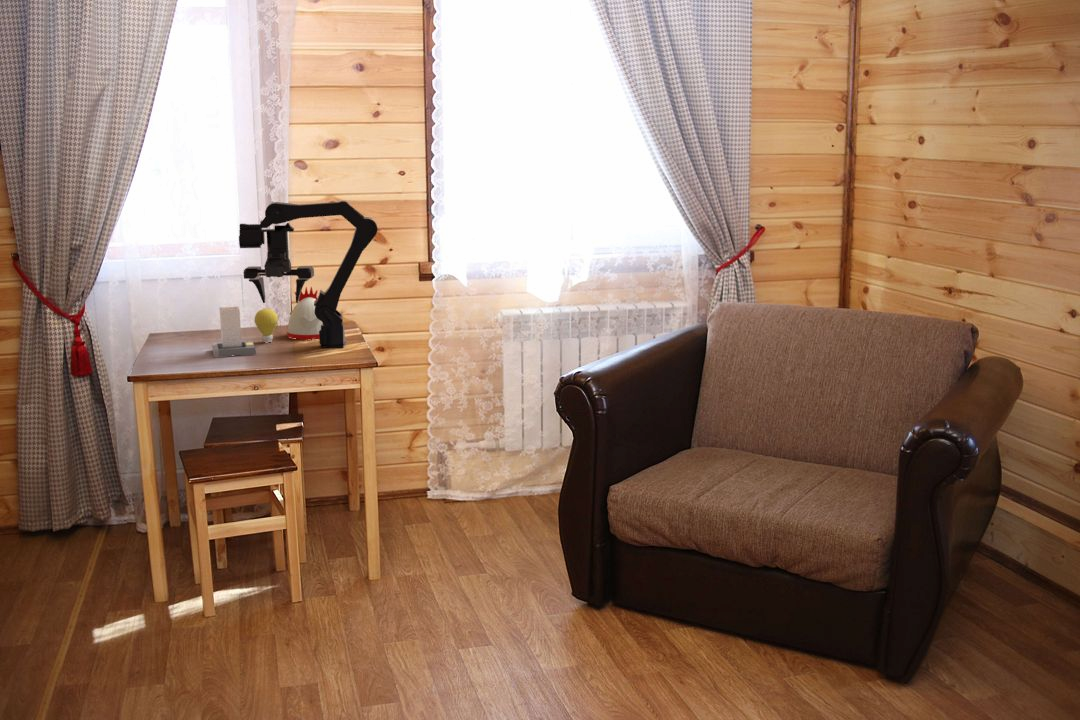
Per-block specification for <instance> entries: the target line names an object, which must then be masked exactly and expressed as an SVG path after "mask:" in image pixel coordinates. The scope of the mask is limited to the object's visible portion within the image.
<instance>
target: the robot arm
mask: <svg viewBox="0 0 1080 720" xmlns="http://www.w3.org/2000/svg"><path fill="white" fill-rule="evenodd" d="M332 216H342V217H343V218H344V219H345V220H346V221H347V222H349V224H351V225H352V226H353V227H354V228H355V229H354V232H353V235H352V239H351V242H350V246H349V248H348V249H347V251H346V253H345V255H344V256H343V258H342V261H341V263H340V265H339V266H338V269H337V271H336V273H335V275H334V276H333V278H332V280H331V283H330V284H329V286H328V287H327V289H326V290H325V291H323V290H322V289H320V290H319V293H318V296H317V299H316V300H315V301H314V306H315V316H316V317H317V319H319V320H320V321H322V323H323V324H322V325H321V329H320V331H319V345H320V348H323V349H324V348H325V349H326V348H344V347H345V345H346V344H347V341H346V335H345V333H346V332H345V323H343V321H344V319H343V318H344V317H343V316H344V315H343V314H342V313H340V311H339V310H337V308H338V304H339V300H340V297H341V295H342V293H343V290H344V288H345V287H346V285H347V282H348V281H349V278H350V276H351V274H352V273H353V271H354V268H355V267H356V265H357V263H358V261H359V259H360V258H361V255H362V253H363V252H364V250H366V248H367V247H368V246H369V244H370V243H371V242H372V241H373V239H374V237H376V235H377V234H378V225H377V222H376V221H375V219H373V218H372V217H369V216H364V215H363V214H362V213H361V212H360V211H358V210H356V209H355V208H354V207H353V206H352V205H350V203H349V201H347V200H341V201H330V202H317V203H316V202H315V203H304V204H303V203H301V204H298V203H291V202H290V203H288V202H280V201H274V202H271V203H269V204H268V205H267V206H266V208H265V211H264V218H263V219H262V220H260V223H239V230H238V231H239V233H238V234H239V236H238V245H239V246H238V247H239V249H261V248H262V245H265V244H266V245H267V246H266V247H267V248H266V249H267V253H266V259H265V260H266V261H265V263H264V267H263V268H262V266H248V267H246V268H244V269H243V279H245V280H246V279H247V280H248V282H251V283H253V285H254V286H255V288H256V289H257V292H258V294H259V296H260V299H261V301H262V303H263V304H266V292H265V291H266V290H265V284H264V283H265V281H264V276H265V277H266V278H275V277H277V278H283V277H284V276H285V277H287V276H289V277H291V276H295V277H298V278H297V279H295V284H296V287H295V289H296V290H295V292H296V295H295V303H296V304H297V303H298V302H299V297H300V294H301V291H302V290H303V287H304V286H305V283H306V282H308V281H309V280H310V279H312V278H313V277H314V276H315V269H314V267H313V266H312V265H311V266H309V265H308V266H307V265H306V266H305V265H304V266H303V265H302V266H298V267H296V268H292V263H291V259H290V256H289V255H290V254H289V253H290V252H289V236H288V232H294V230H295V228H294V227H293V226H292V225H291V224H290V222H291V221H294V220H298V219H305V218H307V219H309V218H320V217H332ZM286 222H287V223H286ZM283 223H286V224H284V225H280V224H283ZM273 224H274V228H269V227H271V226H272V225H273ZM265 233H266V238H265ZM265 239H266V240H265ZM265 242H266V243H265ZM302 292H303V291H302Z"/></svg>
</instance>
